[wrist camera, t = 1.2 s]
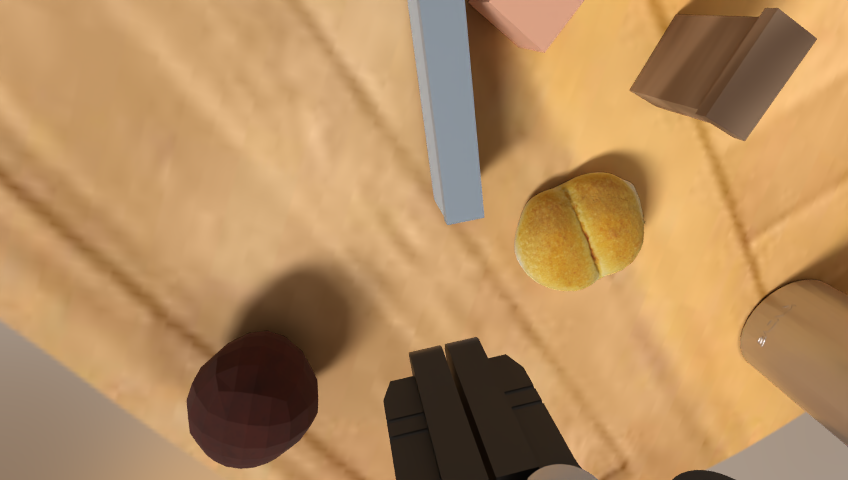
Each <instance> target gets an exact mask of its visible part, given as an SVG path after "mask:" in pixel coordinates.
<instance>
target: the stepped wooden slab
mask: <svg viewBox="0 0 848 480" xmlns="http://www.w3.org/2000/svg"><path fill="white" fill-rule="evenodd" d="M816 40H817V38H815V37H814V36H813V35H812V34H810V33H809V32H808V31H807V30H805V29H804V28H803V27H801V26H800V25H799V24H798V23H796V22H795V21H794V20H793V19H791V18H790V17H789V16H787V15H786V14H785V13H784V12H782V11H781V10H780V9H779V8H765V9H764V11H763V12H762V14H761V15H760V17H741V16H708V15H675V17H674V19H673V20H672V22H671V24H670V25H669V27H668V29H667V30H666V32H665V33H664V35H663V37H662V38H661V40H660V42H659V43H658V45H657V46H656V48H655V50H654V51H653V53H652V55H651V56H650V58H649V60H648V61H647V63H646V64H645V66H644V68H643V69H642V71H641V73H640V74H639V76H638V77H637V79H636V81H635V82H634V84H633V86H632V87H631V89H630V91H631V92H633V93H635V94H636V95H638V96H640V97H641V98H643V99H645V100H646V101H648V102H650V103H651V104H653V105H655V106H656V107H659V108H663V109H666V110H669V111H672V112H676V113H679V114H682V115H685V116H689V117H692V118H695V119H699V120H702V121H705V122H708V123H711V124H713V125H714V126H716V127H718V128H719V129H721V130H722V131H724V132H726V133H727V134H729V135H730V136H732V137H734V138H737V139H740V140H743V141H745V140H746V139H747V137H748V136H749V134H750V133H751V132H752V130H753V129H754V127H755V126H756V125H757V123H758V122H759V120H760V119H761V118H762V116H763V115H764V113H765V112H766V110H767V109H768V108H769V106H770V105H771V103H772V102H773V101H774V99H775V98H776V96H777V95H778V93H779V92H780V91H781V89H782V88H783V86H784V85H785V84H786V82H787V81H788V79H789V78H790V77H791V75H792V74H793V72H794V71H795V69H796V68H797V67H798V65H799V64H800V62H801V61H802V60H803V58H804V57H805V55H806V54H807V53H808V51H809V50H810V48H811V47H812V45H813V44H814V43H815V41H816Z"/></svg>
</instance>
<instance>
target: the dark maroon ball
mask: <svg viewBox="0 0 848 480" xmlns="http://www.w3.org/2000/svg"><path fill="white" fill-rule="evenodd" d="M187 410H188V420H189V428H190V433H191V435H192V436H193V438H194V439H195V441H196V442H197V444H198V445H199V446H200V447H201V449H202V450H203V451H204V452H205V453H206V455H207V456H209V457H210V458H211V459H213V460H214V461H216V462H218V463H220V464H222V465H224V466H226V467H233V468H240V469H242V468H253V467H257V466H260V465H263V464H266V463H268V462H270V461H272V460H274V459H276V458H277V457H278V456H280V455H281V454H283V453H284V452H285V451H287V450H288V449H289V448H291V447H292V446H293V445H294V444H296V443H297V442H298V441H299V440H300V439H301V438H302V437H303V435H304V434H305V433H306V431H307V430H308V428H309V427H310V426H311V424H312V422H313V420H314V419H315V417H316V415H317V413H318V384H317V378H316V376H315V374H314V372H313V370H312V368H311V366H310V365H309V363H308V361H307V359H306V357H305V355H304V354H303V352H302V351H301V350H300V349H299V348H298V347H297V346H295V345H294V344H293V343H292V342H291V341H290V340H288V339H287V338H286V337H285V336H282V335H279V334H276V333H273V332H270V331H262V332H253V333H248V334H246V335H244V336H242V337H240V338H238V339H236V340H234V341H232V342H230V343H228V344H227V345H226V346H224V347H223V348H222V349H221V350H220V351H219V352H218V353H217V354H215V355H214V356H213V357H212V358H211V359H210V360H209V361H208V362H206V363H205V364H204V365H203V366H202V367H201V368H200V370H199V372H198V374H197V375H196V377H195V379H194V381H193V383H192V385H191V388H190V392H189V395H188V398H187Z"/></svg>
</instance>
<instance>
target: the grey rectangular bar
mask: <svg viewBox="0 0 848 480" xmlns="http://www.w3.org/2000/svg"><path fill="white" fill-rule="evenodd" d="M407 1H408V8H409V15H410V23H411V30H412V38H413V45H414V53H415V60H416V67H417V75H418V82H419V90H420V97H421V105H422V112H423V119H424V127H425V134H426V142H427V149H428V157H429V164H430V171H431V179H432V186H433V194H434V200H435V202H436V203H437V205H438V207H439V208H440V210H441V212H442V214H443V215H444V219H445V222H446V224H447V225H450V224H455V223H460V222H465V221H470V220H475V219H480V218H484V209H483V198H482V187H481V176H480V164H479V153H478V142H477V131H476V120H475V109H474V97H473V86H472V75H471V64H470V53H469V42H468V30H467V19H466V8H465V0H407Z"/></svg>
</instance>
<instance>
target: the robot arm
mask: <svg viewBox="0 0 848 480" xmlns="http://www.w3.org/2000/svg"><path fill="white" fill-rule="evenodd" d="M740 348H741V352H742V355H743V357H744V358H745V360H746V361H747V362H748V363H749V364H750V365H752V366H753V367H754V368H755V369H756V370H757V371H759V372H760V373H761V374H762V375H763V376H765V377H766V378H767V379H768V380H769V381H770V382H772V383H773V384H774V385H775V386H776V387H778V388H779V389H780V390H781V391H782V392H783V393H784V394H786V395H787V396H788V397H789V398H790V399H791V400H793V401H794V402H795V403H796V404H797V405H799V406H800V407H801V408H802V409H803V410H805V411H806V412H807V413H808V414H809V415H811V416H812V417H813V418H814V419H815V420H817V421H818V422H819V423H820V424H821V425H823V426H824V427H825V428H826V429H827V430H828V431H830V432H831V433H832V434H833V435H834V436H836V437H837V438H838V439H839V440H840V441H842V442H843V443H844V444H845V445H846V446H848V295H846V294H844V293H843V292H841V291H839V290H837V289H835V288H833V287H832V286H830V285H828V284H826V283H824V282H822V281H818V280H814V279H812V280H801V281H797V282H793V283H790V284H788V285H786V286H783V287H781V288H780V289H778V290H777V291H775V292H773V293H772V294H770V295H769V296H768V297H767V298H766V299H764V300H763V301H762V302H761V303H760V304H759V305H758V306H757V307H756V309H755V310H754V311H753V312H752V314H751V315H750V317H749V318H748V320H747V322H746V324H745V326H744V328H743V331H742V335H741V339H740ZM445 352H446V358H445V355H444V352H443V349H442V347H441V345H440V346H435V347H431V348H427V349H422V350H418V351H413V352H409V357H410V363H411V368H412V374H413V376H412V377H407V378H403V379H399V380H394V381H390V384H389V387H388V389H387V392H386V395H385V398H384V407H385V413H386V420H387V426H388V432H389V438H390V444H391V451H392V457H393V463H394V469H395V476H396V480H598V479H597V478H595V477H594V476H593V475H592V474H590V473H589V472H587V471H585V470H583V469H582V468H581V467H580V466H579V465H578V463H577V462H576V460H575V458H574V457H573V455H572V453H571V451H570V450H569V448H568V446H567V444H566V442H565V441H564V439H563V437H562V435H561V434H560V432H559V430H558V428H557V426H556V425H555V423H554V421H553V419H552V417H551V416H550V414H549V412H548V410H547V409H546V407H545V405H544V403H542V400H541V398H540V396H539V394H538V392H537V391H536V389H534V386H533V384H532V382H531V380H530V378H529V376H528V375H527V373H526V371H525V369H524V368H523V367H522V366H521V365H520V364H518V363H517V362H515V361H514V360H513V359H511V358H510V357H509V356H507V355H506V354H505V355H501V356H497V357H492V358H488V357H487V355H486V353H485V351H484V349H483V347H482V345H481V343H480V341H479V339H478V338H477V337H474V338H470V339H465V340H461V341H457V342H452V343H448V344H445ZM446 359H447V360H446ZM673 480H735V479H733V478H730V477H728V476H725V475H723V474H720V473H716V472H712V471H705V470H693V471H687V472H684V473H681V474H679V475H678V476H676V477H675V478H674V479H673Z"/></svg>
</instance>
